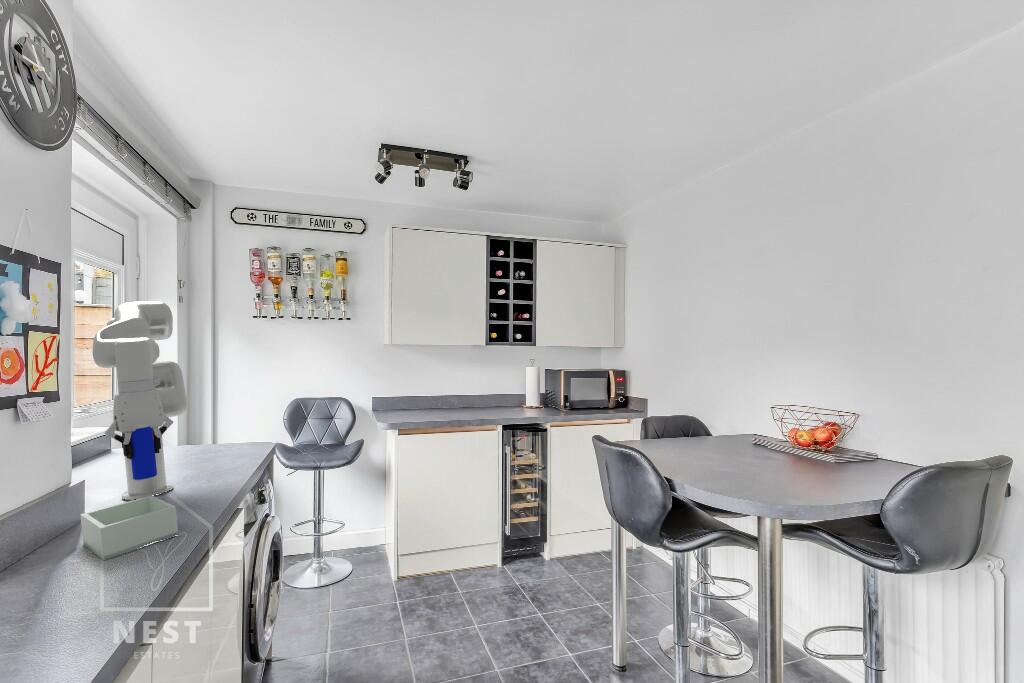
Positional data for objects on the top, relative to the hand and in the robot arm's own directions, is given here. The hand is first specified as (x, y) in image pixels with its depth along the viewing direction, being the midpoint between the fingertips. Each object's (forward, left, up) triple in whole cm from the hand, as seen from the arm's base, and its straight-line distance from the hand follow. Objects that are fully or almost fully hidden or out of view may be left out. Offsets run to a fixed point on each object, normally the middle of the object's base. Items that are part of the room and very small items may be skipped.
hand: (143, 454), depth 133 cm
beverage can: (0, 0, -7) cm, 7 cm away
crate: (+16, -8, -16) cm, 24 cm away
